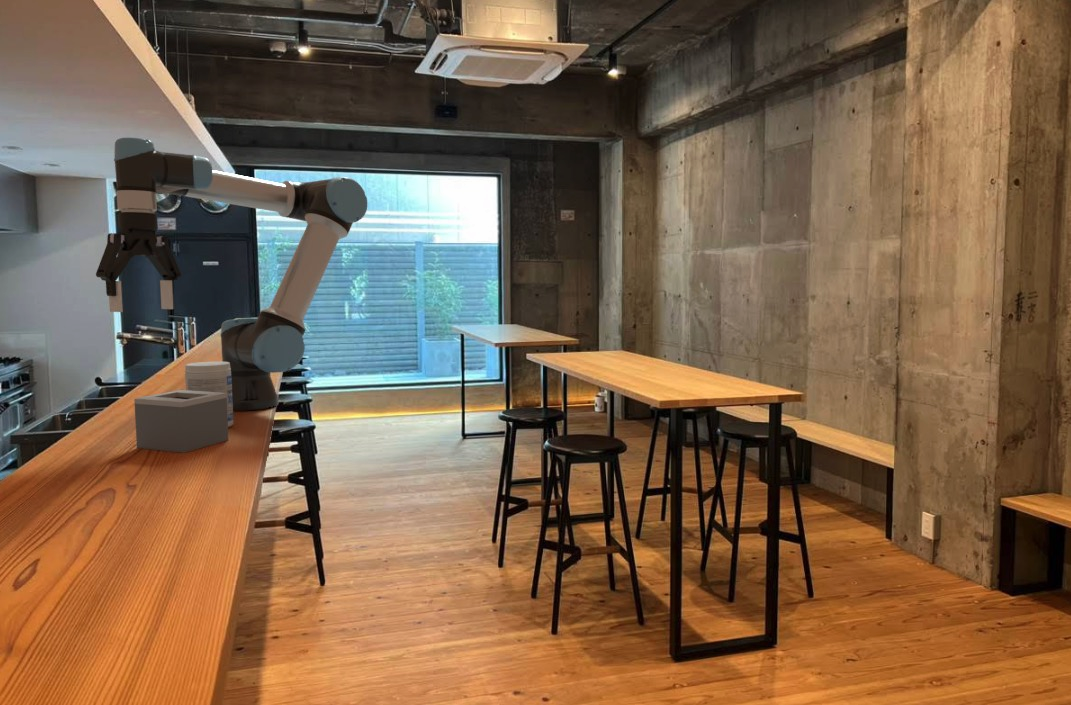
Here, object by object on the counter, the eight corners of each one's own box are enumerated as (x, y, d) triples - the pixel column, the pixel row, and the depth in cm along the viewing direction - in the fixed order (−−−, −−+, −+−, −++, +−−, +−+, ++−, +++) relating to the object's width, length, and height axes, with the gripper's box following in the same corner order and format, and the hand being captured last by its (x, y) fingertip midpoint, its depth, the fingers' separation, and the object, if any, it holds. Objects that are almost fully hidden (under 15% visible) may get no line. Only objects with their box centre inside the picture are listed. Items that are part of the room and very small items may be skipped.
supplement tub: (240, 427, 168) (237, 363, 166) (196, 433, 161) (194, 367, 160) (223, 421, 175) (221, 359, 173) (181, 427, 168) (178, 363, 167)
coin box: (183, 435, 159) (181, 389, 158) (228, 440, 155) (226, 392, 154) (136, 447, 148) (134, 398, 147) (184, 452, 144) (181, 402, 143)
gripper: (169, 216, 173) (173, 307, 175) (72, 207, 149) (78, 312, 152) (195, 216, 170) (199, 308, 173) (100, 206, 147) (106, 313, 149)
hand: (142, 310), depth 162 cm, fingers open, 13 cm apart
